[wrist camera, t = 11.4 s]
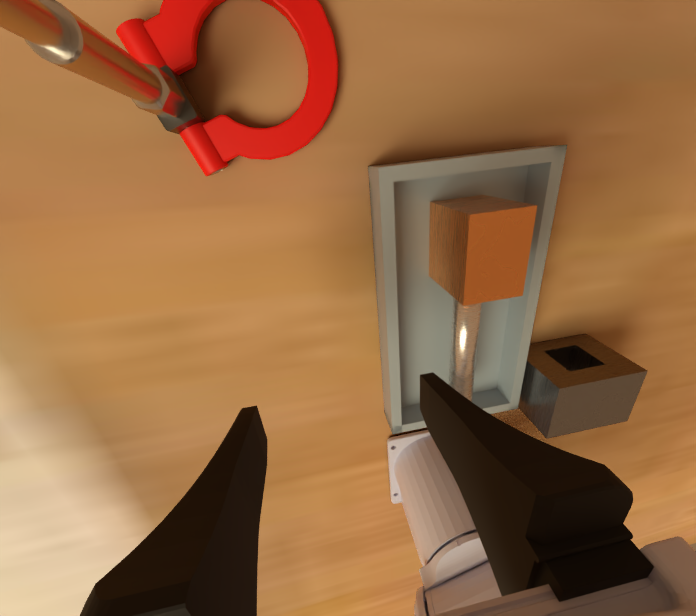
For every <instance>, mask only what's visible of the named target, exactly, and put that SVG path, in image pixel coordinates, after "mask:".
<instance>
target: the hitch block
mask: <svg viewBox="0 0 696 616" xmlns="http://www.w3.org/2000/svg"><path fill="white" fill-rule="evenodd" d="M646 374H647V370H645V369H644V368H642V367H640V366H639V365H637V364H635V363H634V362H632V361H630V360H629V359H627V358H625V357H624V356H622V355H620V354H619V353H617V352H615V351H614V350H612V349H610V348H609V347H607V346H605V345H604V344H602V343H600V342H599V341H597V340H595V339H594V338H592V337H590V336H589V335H587V334H582V335H576V336H571V337H565V338H560V339H555V340H549V341H544V342H539V343H533V344H530V346H529V351H528V356H527V362H526V367H525V372H524V378H523V383H522V388H521V394H520V399H519V404H518V407H519V409H520V410H521V411H522V412H523V413H524V414H525V415H526V416H527V417H528V418H529V420H530V421H531V422H532V423H533V424H534V425H535V426H536V427H537V428H538V430H539V431H540V432H541V433H542V434H543V435H544V436H545V437H546V438H552V437H556V436H561V435H565V434H570V433H575V432H579V431H584V430H588V429H593V428H597V427H602V426H606V425H611V424H616V423H620V422H625V421H627V420H628V418H629V415H630V413H631V411H632V408H633V406H634V403H635V401H636V398H637V396H638V393H639V391H640V388H641V386H642V383H643V381H644V379H645V376H646Z"/></svg>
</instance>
